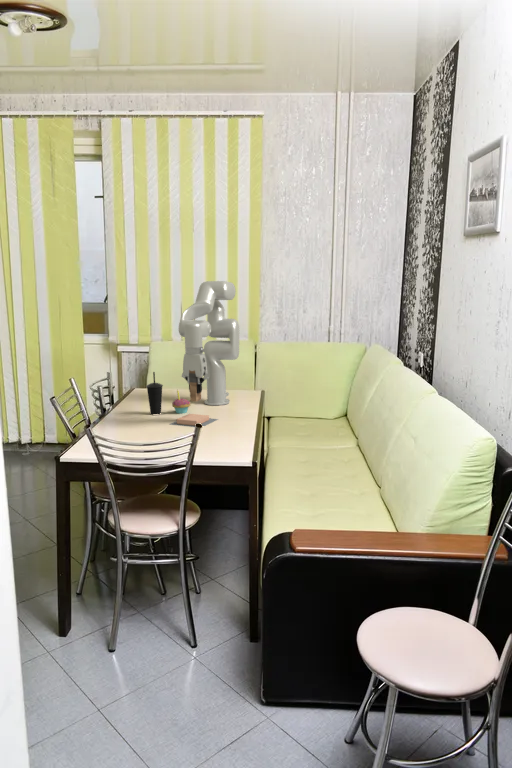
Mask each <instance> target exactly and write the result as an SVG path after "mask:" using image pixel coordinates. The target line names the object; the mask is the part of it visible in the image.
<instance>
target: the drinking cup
mask: <svg viewBox="0 0 512 768" xmlns="http://www.w3.org/2000/svg"><path fill="white" fill-rule="evenodd" d="M152 374H153V377H152V378H153V382H150V383H148V384H147V385H146V386H145V387H146V390H147V391H146V392H147V397H148V404H149V411H150V412H149V413H150V415H151V414H159V415H161V414H162V398H163V386H164V385H163V384H162V383H159V382H156V376H155V375H156V373H155V371H153V372H152ZM160 413H161V414H160Z"/></svg>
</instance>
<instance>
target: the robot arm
mask: <svg viewBox="0 0 512 768" xmlns="http://www.w3.org/2000/svg"><path fill="white" fill-rule="evenodd" d="M236 292H237V291H236V287H235V284H234V283H233V282H231V281H227V280H226V281H225V280H208V281H203V282H202V283H201V284H200V286H199V288H198V291H197V293H196V294H197V295H196V299H195V302H194V303H193V304H191V305H190V306H188V307H187V308H185V310H184V311H183V312H182V314H181V316H180V319H179V322H178V333H179V335H180V337H183V338H184V347H185V348H184V349H185V351H184V352H185V353H184V354H183V361H182V374H181V378H183V379H185V381H186V382H187V384H188V391H190V382H189V370H190V371H194V370H195V374H196V377H197V383H198V384H197V393H200V392H201V393H202V391H203V383H204V381H206V398H207V399H205V400H204V405H208V406H223V405H228V404H229V403H230V399H229V398H227V397H228V396H229V395H230V393H229V392H227V384H226V383H227V381H226V379H227V378H226V367H225V364H223V362H222V361H232V360H233V361H235V360H238V358H239V355H240V324H239V321H238V320H237V319H235V318H226V317H225V311H226V310H225V306H223V304H222V303H221V302H220V301H232V300H234V298H235V297H236V294H237V293H236ZM206 315H207V316H206ZM204 316H206V317H207V320H205V319H204V320H198V319H197V318H201V317H204ZM196 319H197V320H196ZM208 336H209V337H210V338H213V339H214V338H215V339H216V338H217V339H220V338H221V339H223V338H224V339H229V340H209V341H206V342H205V343H204V345H203V338H206V337H208Z"/></svg>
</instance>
